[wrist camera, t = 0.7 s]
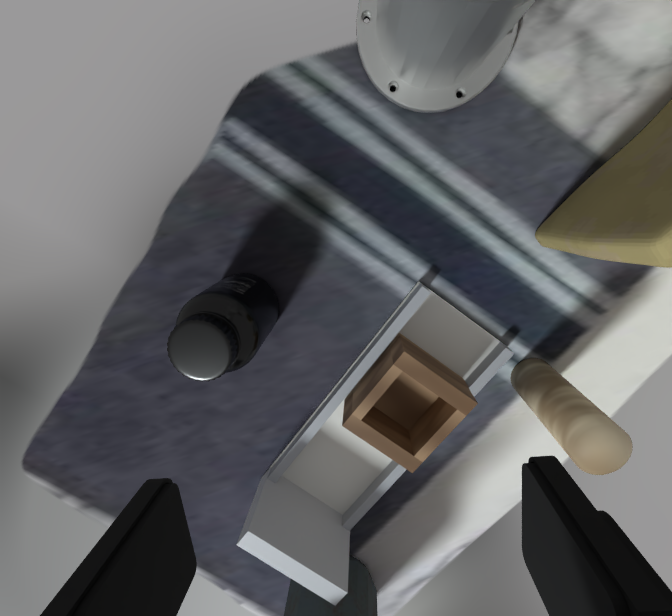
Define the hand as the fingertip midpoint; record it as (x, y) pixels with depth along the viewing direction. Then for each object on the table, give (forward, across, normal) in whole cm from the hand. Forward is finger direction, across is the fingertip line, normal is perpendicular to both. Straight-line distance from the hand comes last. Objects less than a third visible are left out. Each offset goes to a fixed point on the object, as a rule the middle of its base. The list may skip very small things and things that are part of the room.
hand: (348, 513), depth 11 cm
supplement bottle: (+29, +11, 0) cm, 31 cm away
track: (+28, 0, +14) cm, 32 cm away
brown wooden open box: (+28, -4, +10) cm, 30 cm away
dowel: (+28, -16, +10) cm, 34 cm away
